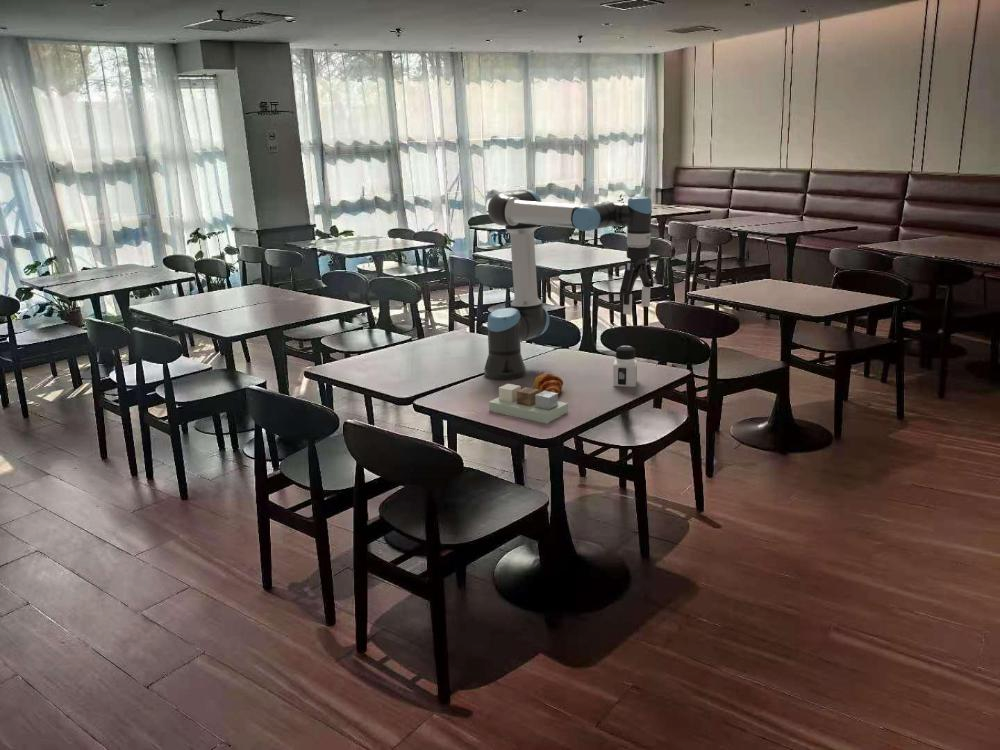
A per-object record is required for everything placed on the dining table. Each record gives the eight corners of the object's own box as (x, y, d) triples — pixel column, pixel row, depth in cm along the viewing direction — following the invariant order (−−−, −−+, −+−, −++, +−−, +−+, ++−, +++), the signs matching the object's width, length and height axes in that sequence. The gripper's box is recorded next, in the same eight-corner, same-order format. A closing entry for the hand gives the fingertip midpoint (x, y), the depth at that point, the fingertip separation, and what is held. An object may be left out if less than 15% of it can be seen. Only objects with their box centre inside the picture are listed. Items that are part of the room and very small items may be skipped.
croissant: (534, 392, 286) (523, 373, 283) (558, 377, 286) (548, 358, 283) (546, 410, 265) (534, 390, 263) (572, 394, 265) (561, 374, 263)
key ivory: (499, 402, 258) (498, 387, 257) (508, 398, 262) (507, 383, 261) (511, 405, 256) (511, 390, 254) (520, 400, 259) (520, 386, 258)
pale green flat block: (489, 410, 257) (488, 401, 256) (510, 400, 266) (510, 391, 266) (547, 423, 245) (547, 414, 244) (567, 412, 254) (567, 403, 253)
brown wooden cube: (517, 406, 254) (516, 391, 253) (526, 402, 258) (525, 387, 257) (530, 409, 252) (530, 393, 250) (539, 404, 255) (538, 389, 254)
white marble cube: (535, 410, 250) (535, 394, 249) (544, 405, 254) (544, 390, 253) (549, 413, 248) (549, 397, 246) (557, 408, 251) (557, 393, 250)
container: (635, 387, 277) (636, 350, 273) (613, 386, 278) (613, 349, 274) (636, 380, 284) (637, 344, 280) (614, 379, 285) (615, 344, 281)
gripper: (631, 251, 250) (629, 318, 256) (665, 241, 269) (662, 304, 276) (610, 250, 254) (608, 316, 260) (644, 240, 274) (642, 301, 280)
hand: (636, 310), depth 268 cm, fingers open, 13 cm apart
